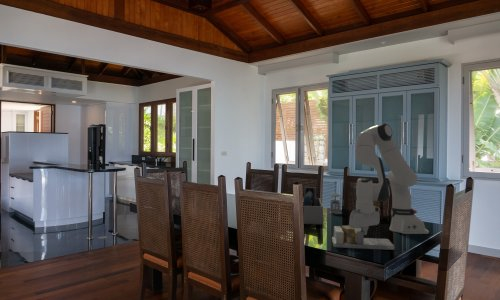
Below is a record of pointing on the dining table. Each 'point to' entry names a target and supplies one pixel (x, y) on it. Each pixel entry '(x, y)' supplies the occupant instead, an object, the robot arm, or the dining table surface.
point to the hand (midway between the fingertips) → (364, 234)
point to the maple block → (348, 233)
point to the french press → (336, 203)
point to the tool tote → (313, 213)
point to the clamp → (309, 196)
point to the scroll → (376, 203)
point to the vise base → (368, 244)
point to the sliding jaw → (359, 236)
